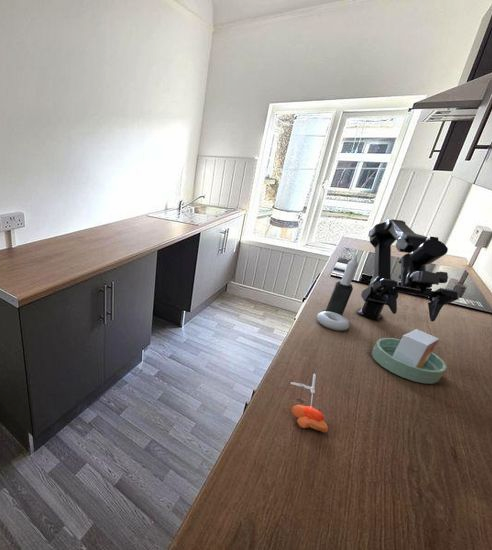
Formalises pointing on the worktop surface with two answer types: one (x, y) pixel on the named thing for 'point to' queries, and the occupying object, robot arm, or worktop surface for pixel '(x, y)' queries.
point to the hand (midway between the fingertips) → (413, 317)
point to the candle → (343, 289)
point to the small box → (415, 348)
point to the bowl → (425, 375)
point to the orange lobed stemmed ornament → (309, 413)
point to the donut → (333, 321)
